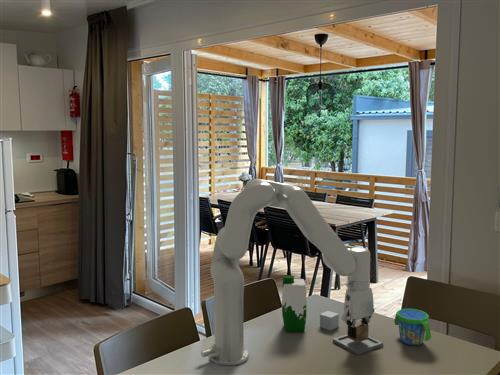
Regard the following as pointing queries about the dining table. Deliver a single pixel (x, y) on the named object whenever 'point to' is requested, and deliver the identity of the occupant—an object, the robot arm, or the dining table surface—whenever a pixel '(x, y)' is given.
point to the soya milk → (293, 304)
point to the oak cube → (360, 332)
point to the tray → (358, 344)
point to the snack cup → (413, 326)
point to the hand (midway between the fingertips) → (358, 334)
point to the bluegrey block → (329, 320)
